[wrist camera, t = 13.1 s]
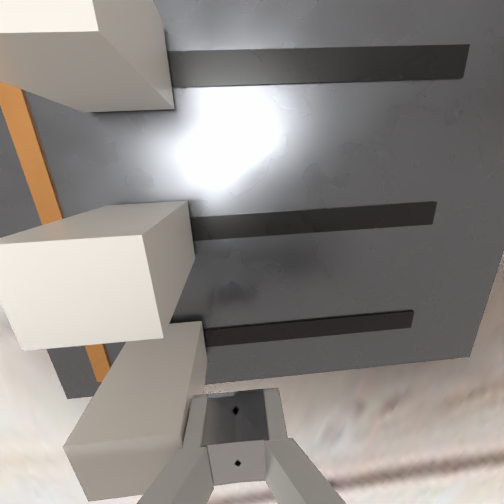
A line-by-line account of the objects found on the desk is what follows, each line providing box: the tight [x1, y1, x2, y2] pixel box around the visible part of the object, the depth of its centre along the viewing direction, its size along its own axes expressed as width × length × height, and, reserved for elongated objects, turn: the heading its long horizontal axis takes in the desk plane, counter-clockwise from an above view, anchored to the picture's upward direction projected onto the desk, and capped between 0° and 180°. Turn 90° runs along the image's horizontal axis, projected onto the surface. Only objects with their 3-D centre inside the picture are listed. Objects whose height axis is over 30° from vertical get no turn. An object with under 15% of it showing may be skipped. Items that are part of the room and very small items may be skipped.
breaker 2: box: [0, 201, 195, 351], centre depth 7 cm, size 3×2×5 cm
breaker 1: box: [0, 0, 175, 112], centre depth 5 cm, size 3×2×5 cm
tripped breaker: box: [63, 321, 207, 501], centre depth 9 cm, size 3×2×5 cm
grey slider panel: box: [0, 0, 504, 399], centre depth 11 cm, size 22×17×2 cm
